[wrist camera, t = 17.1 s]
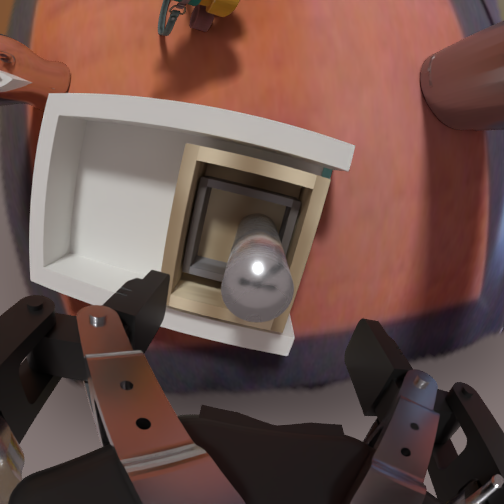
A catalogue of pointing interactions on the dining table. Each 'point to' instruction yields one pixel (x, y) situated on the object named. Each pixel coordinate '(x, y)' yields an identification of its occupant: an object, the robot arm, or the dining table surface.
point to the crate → (234, 224)
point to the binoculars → (196, 13)
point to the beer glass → (28, 75)
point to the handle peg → (257, 272)
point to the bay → (143, 193)
